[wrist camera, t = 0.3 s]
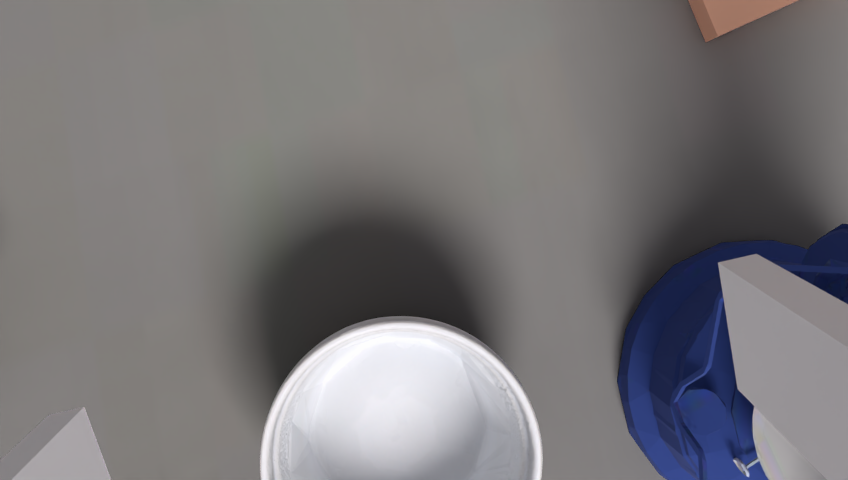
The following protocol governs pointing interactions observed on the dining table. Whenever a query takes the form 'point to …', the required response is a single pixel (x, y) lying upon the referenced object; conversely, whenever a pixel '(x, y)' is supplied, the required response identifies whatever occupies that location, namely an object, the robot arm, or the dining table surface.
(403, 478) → the ramekin
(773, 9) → the plate
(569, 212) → the dining table surface
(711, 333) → the lantern
